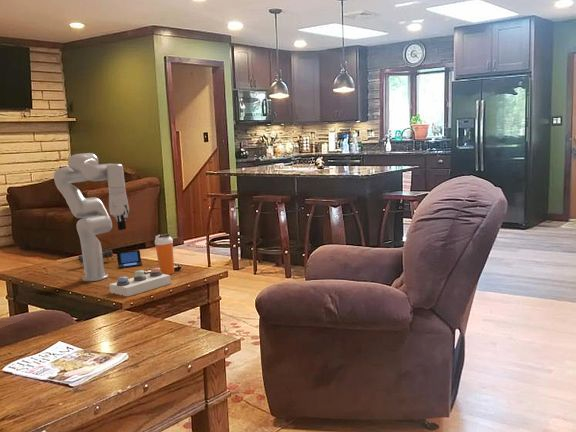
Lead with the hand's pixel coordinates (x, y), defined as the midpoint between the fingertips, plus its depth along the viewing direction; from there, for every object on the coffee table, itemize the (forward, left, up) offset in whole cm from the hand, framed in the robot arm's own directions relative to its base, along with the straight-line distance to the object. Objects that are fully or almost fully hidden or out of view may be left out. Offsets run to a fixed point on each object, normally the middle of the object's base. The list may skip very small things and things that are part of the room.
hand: (122, 229), depth 284 cm
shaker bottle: (-2, +24, -27) cm, 36 cm away
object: (-39, +27, -28) cm, 55 cm away
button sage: (+10, 0, -21) cm, 23 cm away
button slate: (+10, -9, -22) cm, 25 cm away
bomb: (-62, +15, -27) cm, 69 cm away
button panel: (+10, 0, -27) cm, 29 cm away
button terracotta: (+10, +9, -22) cm, 25 cm away
